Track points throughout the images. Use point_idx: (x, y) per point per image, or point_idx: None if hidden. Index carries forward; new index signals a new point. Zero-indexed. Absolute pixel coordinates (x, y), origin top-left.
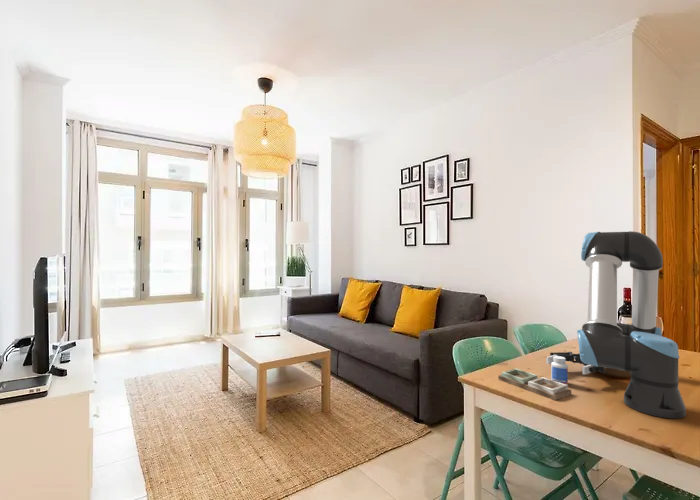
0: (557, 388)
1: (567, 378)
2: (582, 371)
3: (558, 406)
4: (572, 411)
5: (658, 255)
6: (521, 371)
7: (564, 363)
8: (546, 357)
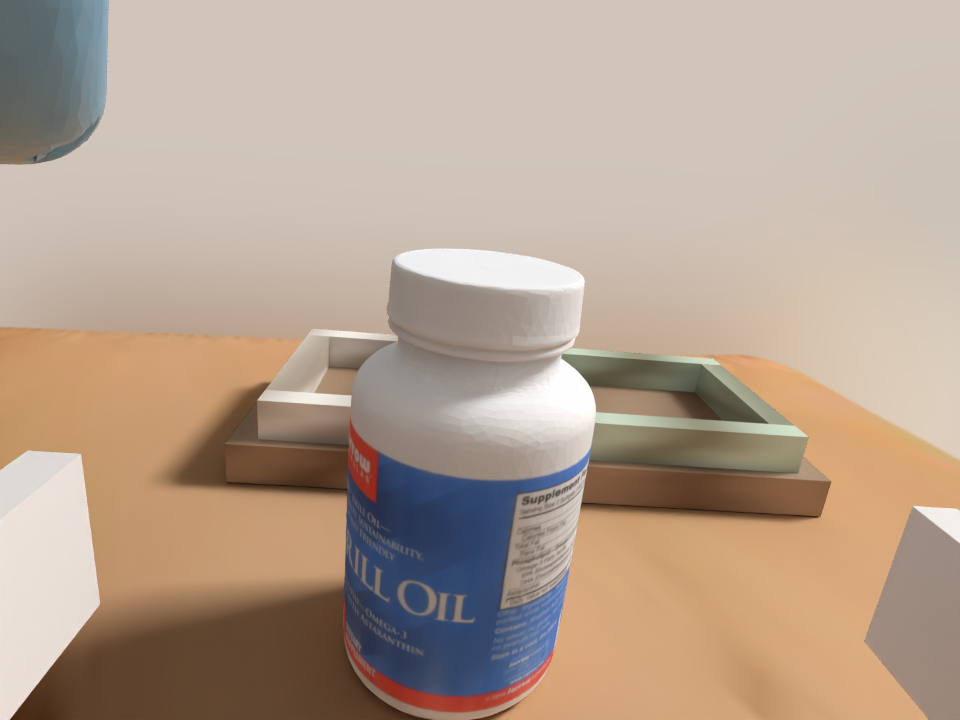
0: (301, 346)
1: (345, 572)
2: (91, 551)
3: (254, 355)
4: (175, 351)
5: None
6: (716, 423)
7: (397, 345)
8: (952, 520)
